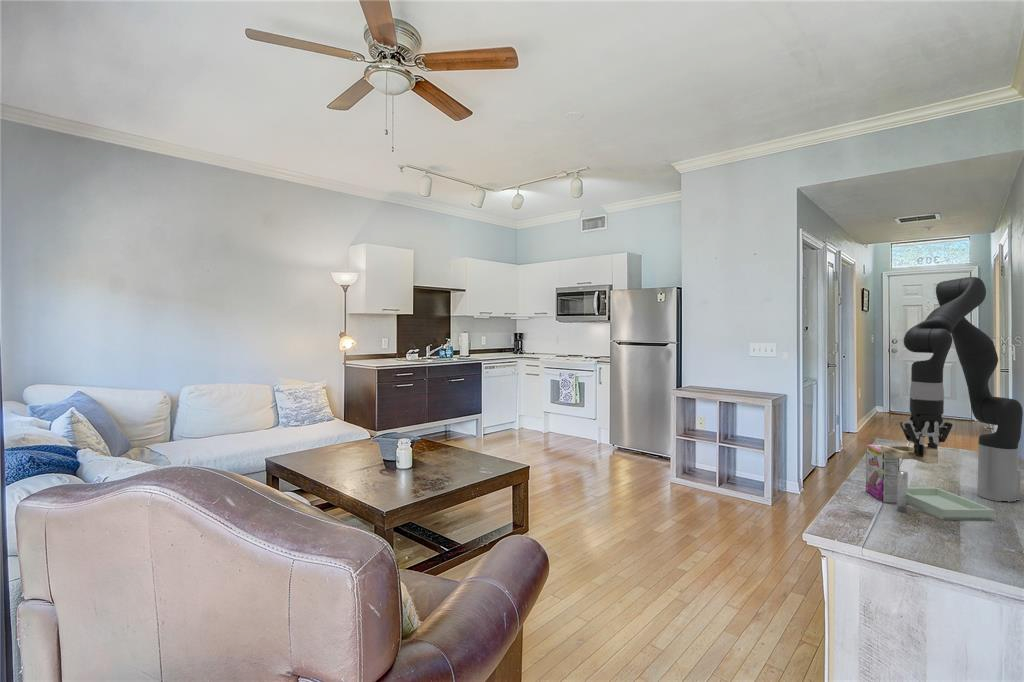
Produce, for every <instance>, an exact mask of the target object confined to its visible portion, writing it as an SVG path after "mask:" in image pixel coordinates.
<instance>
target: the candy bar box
mask: <svg viewBox="0 0 1024 682" xmlns="http://www.w3.org/2000/svg"><path fill="white" fill-rule="evenodd" d="M865 446H866V447H865V451H866V453H865V492H867V493H868V494H869V493H870V494H869V495H871V496H872V495H873V496H872V497H873V498H875V497H876V498H875V499H877V500H878V499H879V500H878V501H880V502H881V501H882V502H881V503H883V502H884V503H885V504H897V481H898V471H900V458H898V457H895V456H892V455H888V454H885V453H882V452H881V446H883V445H882V444H866V445H865Z"/></svg>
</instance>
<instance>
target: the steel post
mask: <svg viewBox="0 0 1024 682" xmlns="http://www.w3.org/2000/svg"><path fill="white" fill-rule="evenodd" d="M908 473H909V472H908V471H904V470H899V471H898V481H897V503H896V511H897V512H901V513H908V504H907V488H908V481H909V480H908V478H909V477H908V476H909V474H908Z"/></svg>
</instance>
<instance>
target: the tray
mask: <svg viewBox="0 0 1024 682" xmlns="http://www.w3.org/2000/svg"><path fill="white" fill-rule="evenodd" d="M907 505H909V506H912V507H914V508H915V509H918V510H920V511H922V512H925V513H927V514H929V515H931V516H933V517H935V518H937V519H940V520H941V521H996V509H993V508H990V507H988V506H987V505H983V504H981V503H978V502H975V501H972V500H971V499H968V498H966V497H962V496H960V495H957V494H955V493H952V492H949V491H948V490H945V489H942V488H939V487H907Z"/></svg>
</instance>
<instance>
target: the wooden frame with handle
mask: <svg viewBox="0 0 1024 682" xmlns="http://www.w3.org/2000/svg"><path fill="white" fill-rule="evenodd" d="M927 446H928V445H924V450H923V457H918V456H916V455H915V454H914V445H882V446H881V452H882V453H885V454H888V455H892V456H895V457H898V458H899V459H901V460H915V461H918V462H921V463H925V464H934V465H935V464H939V449H938V448H937V449H934V448H930V447H927Z"/></svg>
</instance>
